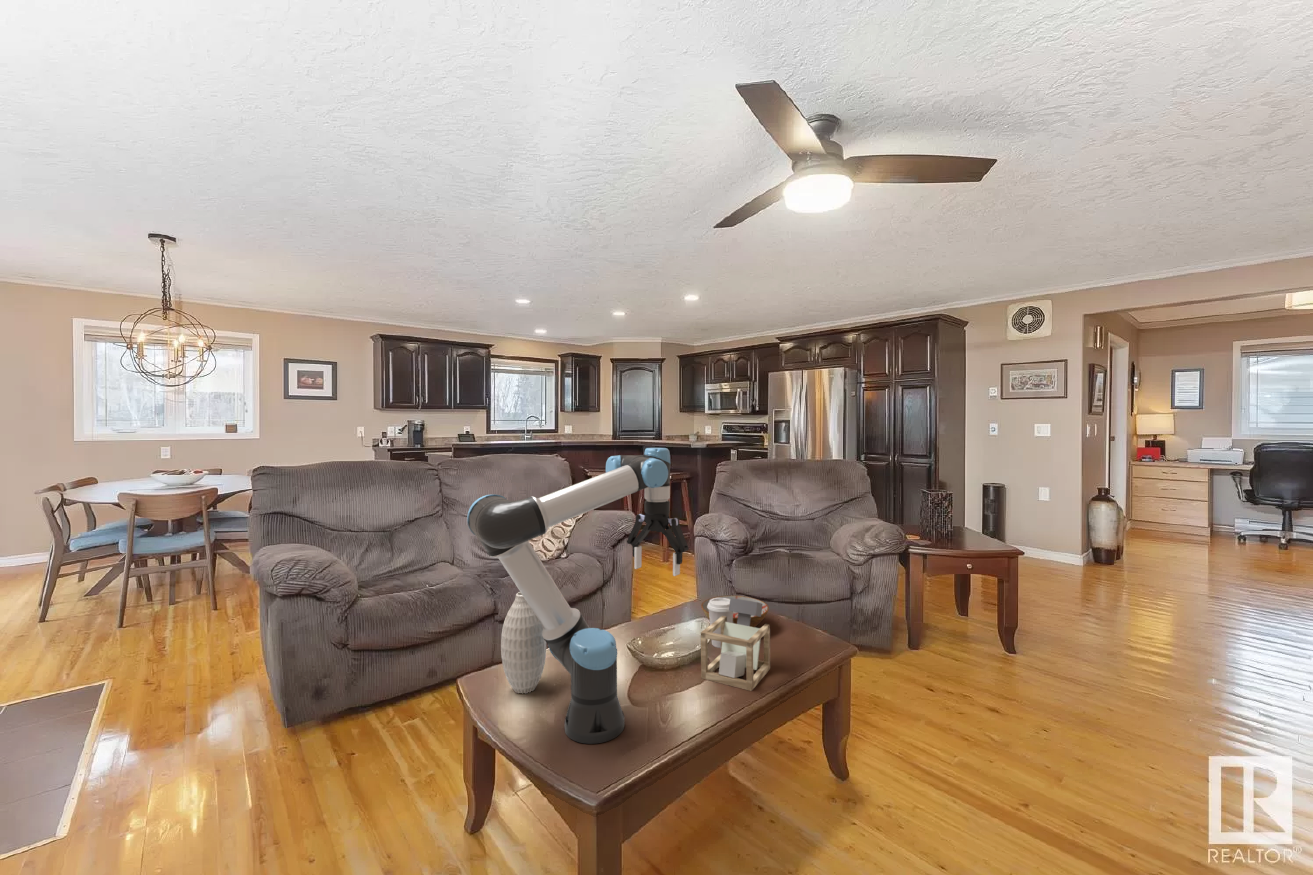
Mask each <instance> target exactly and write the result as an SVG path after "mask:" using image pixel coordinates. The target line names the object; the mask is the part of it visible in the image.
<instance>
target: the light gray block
mask: <svg viewBox="0 0 1313 875" xmlns="http://www.w3.org/2000/svg"><path fill="white" fill-rule="evenodd" d="M720 654H721V657H720V666H719V667H718V668H719V669H718V673H719V674H720V675H724V676H728V677H732V678H739V677H742V676H745V671H746V667H745V661H746V654H742V653H738V652H733V651H729V652H723V653H721V652H720Z"/></svg>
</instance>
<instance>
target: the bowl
mask: <svg viewBox="0 0 1313 875" xmlns="http://www.w3.org/2000/svg"><path fill="white" fill-rule="evenodd" d="M713 598H727V599H730V598H735V599H741V600H747V601H753V602H758V603H761V604H762V612H761V617H759V616H754V615H751V620H750V627H755V628H756V627H757V626H758V625H759V624H761V622H762V621H763V620H764V619H765V618H766V616H767V614H768V612H769V610H770V607H769V604H767V603H766V602H764V601H762V600H760V599H757V598H754V597H751V596H744V595H729V594H728V595H719V596H714V597H711V598H708V599H705V600H703V602H702V603H700V606H701V610H702V611H703V614H704V615H705V616H706V618H707V619H708V620H709V621H710V618H709V609H708V608H707V605H708V603H709V601H710V600H711V599H713ZM737 620H738V613H737V612H733V621H732V623H734V624H737Z"/></svg>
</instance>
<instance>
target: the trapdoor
mask: <svg viewBox="0 0 1313 875" xmlns="http://www.w3.org/2000/svg"><path fill="white" fill-rule="evenodd" d="M729 611H732V612H737V613H738V620H737V624H734V623H729V622H725V627H724V634H723V635H726V636H731V637H736V638H741V639H745V640H749V639H750V638H751V637H752V636H753V635H754V634H755V633H756V632H757V631H758V630H759V629H760V628H761V627H756V626H755V627H750V620H751V615H754V616H759V617H761V612H762V604H761V603H758V602H753V601H747V600H741V599H735V598H730V605H729ZM761 640H762V638H761V639H760V640H759V641H758V642H757V643H756V644H755V645H754V646H753V671H758V667H757V666H758V660H759V657H760V656H759V655H760V648H761ZM729 651H733V652H738V653H742V654H746V647H744V646H739V645H734V644H730V643H725V642H722V649H721V648H720V654H721V653H723V652H729ZM720 657H721V656H720ZM745 668H746V661H745Z"/></svg>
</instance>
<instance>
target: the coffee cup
mask: <svg viewBox="0 0 1313 875" xmlns="http://www.w3.org/2000/svg"><path fill="white" fill-rule="evenodd" d="M712 598H713V597H712ZM729 605H730V599H727V598H713V599H711V600H710V601H709V603H708V605H707V608H708V609H709V618H710V620H709V626H710V625H711V624H712V623H714V622H715V621H716V620H718V619H719V618H720V617H721V616H727V622H729V623H732V621H733V612H732V611H729ZM713 633H716V634H721V626H720V627H719V628H718V629H716V630H715V631H714V632H713ZM711 645H712V646H713V647H715V648H718V649H721V642H720V641H716V640H711Z"/></svg>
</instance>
